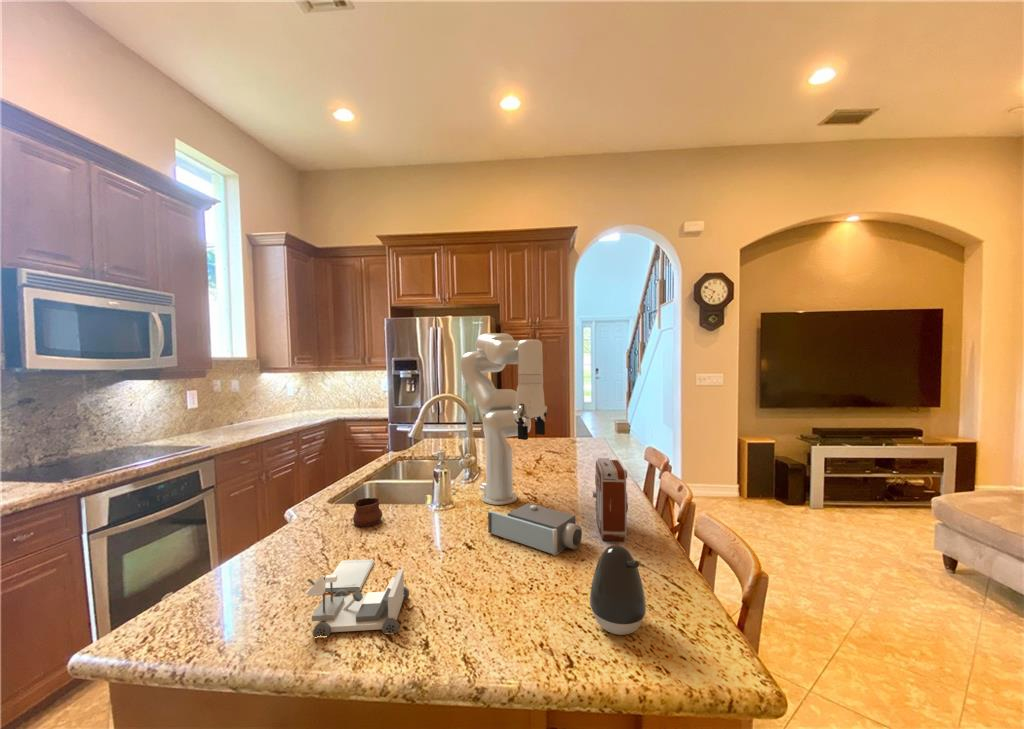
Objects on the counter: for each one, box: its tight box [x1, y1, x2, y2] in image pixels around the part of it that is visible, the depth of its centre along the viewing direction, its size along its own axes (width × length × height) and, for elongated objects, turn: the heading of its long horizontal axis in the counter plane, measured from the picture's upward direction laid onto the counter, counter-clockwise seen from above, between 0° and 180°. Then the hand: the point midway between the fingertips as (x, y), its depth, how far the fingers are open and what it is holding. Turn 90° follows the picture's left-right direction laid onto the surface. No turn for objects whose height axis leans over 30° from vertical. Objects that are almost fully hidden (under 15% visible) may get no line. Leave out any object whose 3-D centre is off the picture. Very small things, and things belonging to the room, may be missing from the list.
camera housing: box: [507, 502, 583, 555], centre depth 114 cm, size 20×10×8 cm, turn 52°
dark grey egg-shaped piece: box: [589, 543, 647, 636], centre depth 78 cm, size 10×10×15 cm
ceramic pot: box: [336, 497, 383, 530], centre depth 128 cm, size 18×18×7 cm
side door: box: [487, 510, 558, 557], centre depth 112 cm, size 23×2×6 cm, turn 52°
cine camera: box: [592, 457, 629, 542], centre depth 121 cm, size 9×19×20 cm, turn 174°
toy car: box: [304, 568, 410, 638], centre depth 81 cm, size 18×10×12 cm
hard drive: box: [325, 558, 375, 592], centre depth 96 cm, size 2×8×12 cm
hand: (531, 436), depth 125 cm, fingers open, 9 cm apart
